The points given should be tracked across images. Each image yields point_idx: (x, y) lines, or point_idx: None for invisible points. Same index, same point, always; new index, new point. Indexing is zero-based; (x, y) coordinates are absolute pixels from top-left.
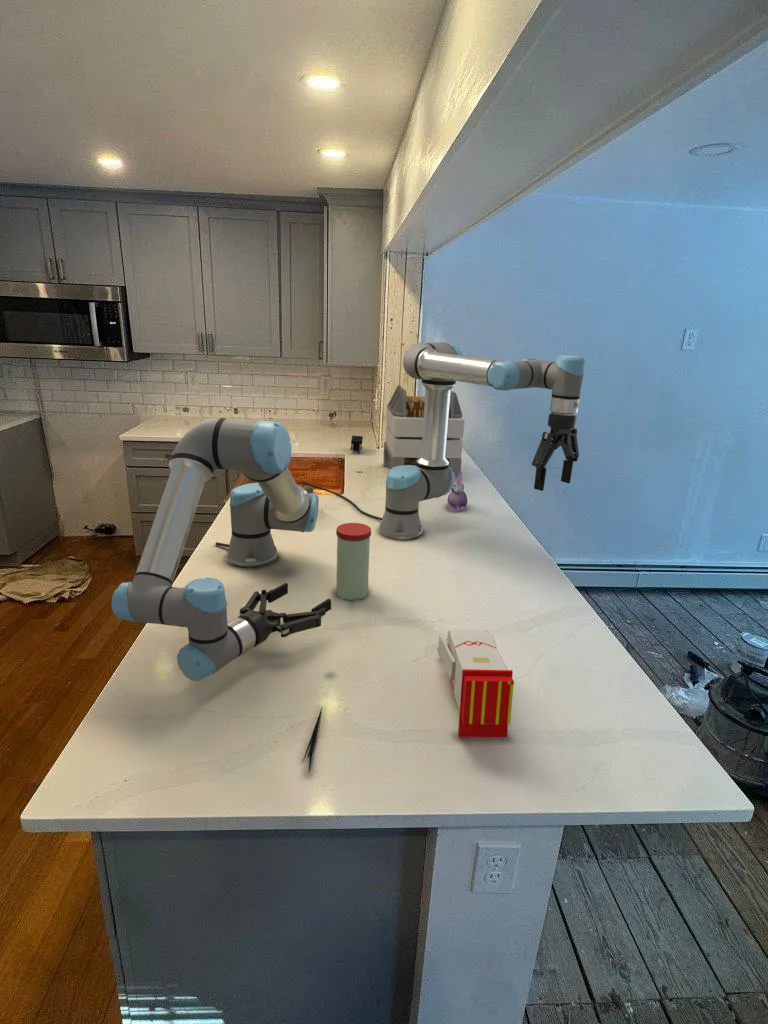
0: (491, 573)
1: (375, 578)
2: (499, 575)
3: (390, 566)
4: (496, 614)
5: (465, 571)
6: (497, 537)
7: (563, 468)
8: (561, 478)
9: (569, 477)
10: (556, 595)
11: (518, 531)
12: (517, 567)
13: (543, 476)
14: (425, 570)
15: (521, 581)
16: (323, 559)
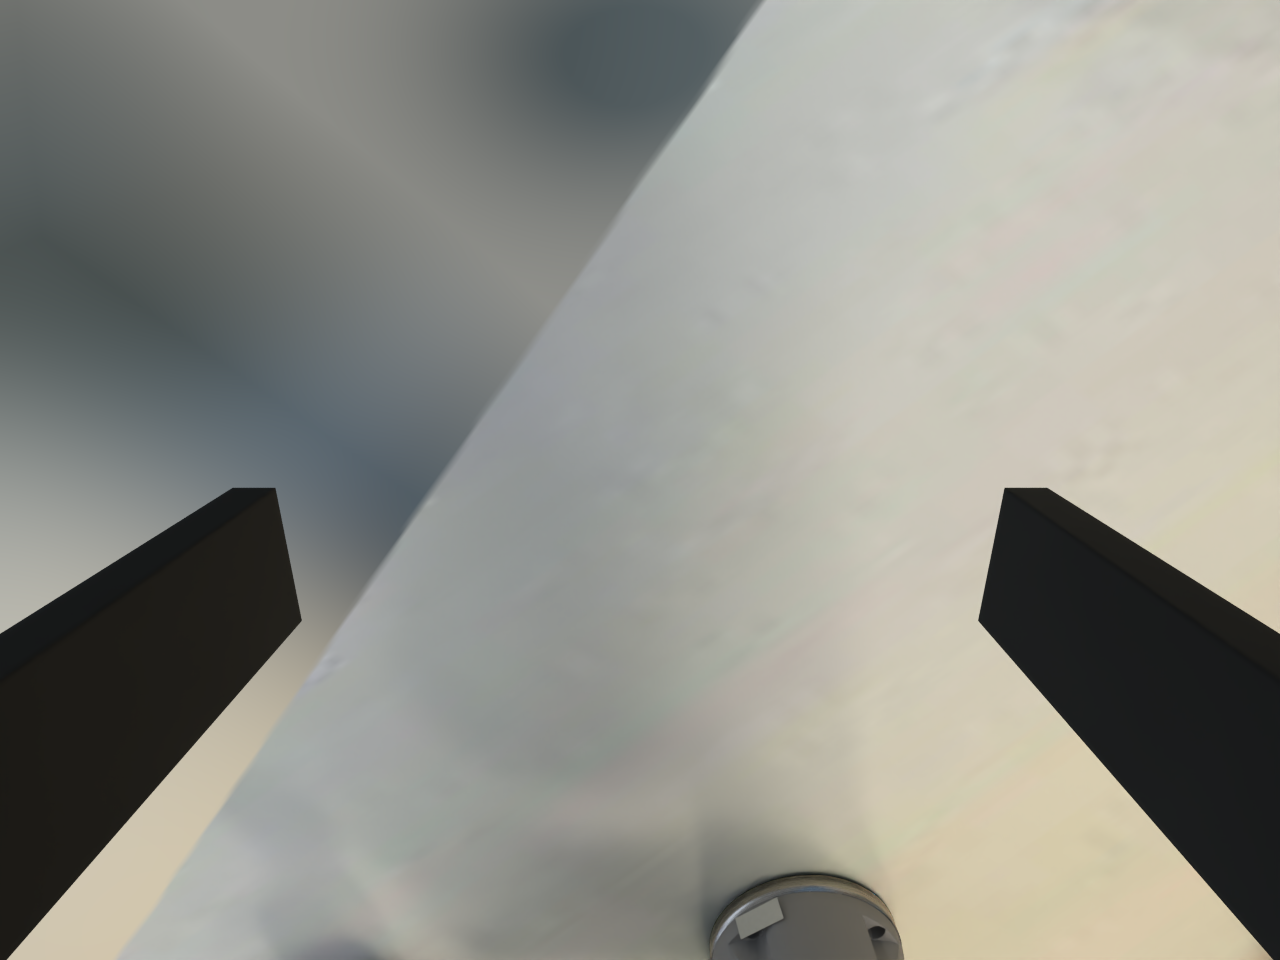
0: (847, 473)
1: None
2: (836, 436)
3: None
4: (1229, 175)
5: (923, 555)
6: (468, 708)
7: (156, 764)
8: (276, 640)
9: (211, 531)
10: (810, 100)
11: (308, 699)
12: (682, 440)
13: (1252, 624)
14: None
15: (809, 327)
16: None
